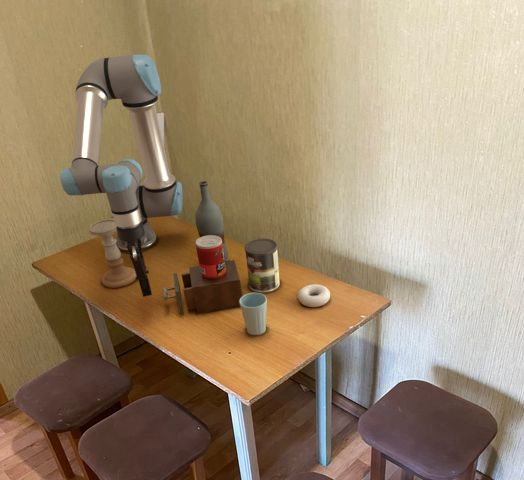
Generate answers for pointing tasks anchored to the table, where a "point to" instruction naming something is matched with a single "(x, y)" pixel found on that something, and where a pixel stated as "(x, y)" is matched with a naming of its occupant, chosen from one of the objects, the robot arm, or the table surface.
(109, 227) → the candle holder
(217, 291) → the cabinet
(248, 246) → the coffee can
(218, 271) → the canned food
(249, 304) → the cup
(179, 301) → the drawer
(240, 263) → the table surface
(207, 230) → the bottle
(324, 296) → the donut
